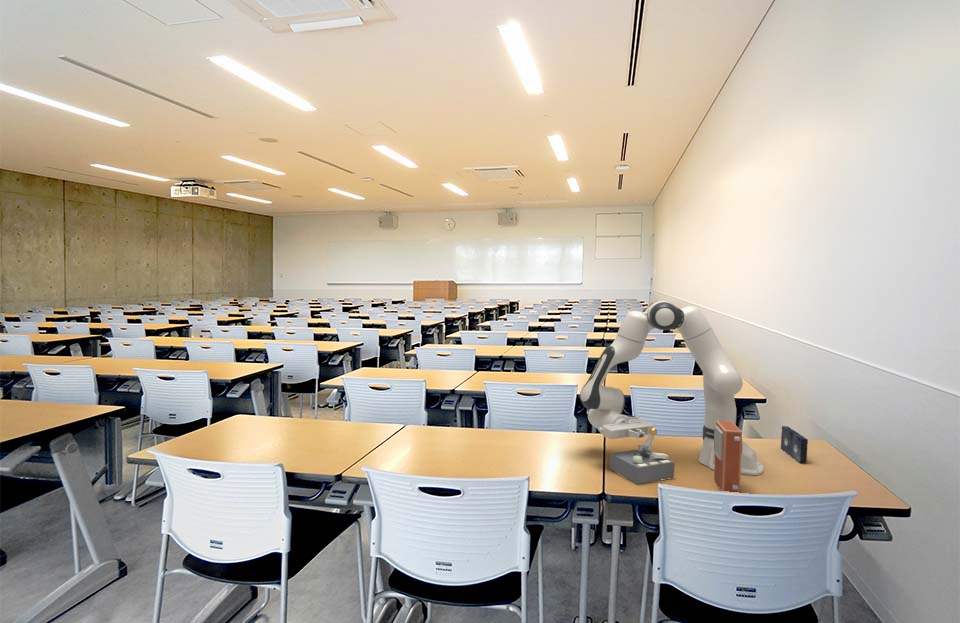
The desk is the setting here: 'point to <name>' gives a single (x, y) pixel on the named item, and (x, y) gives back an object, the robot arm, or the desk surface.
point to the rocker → (660, 455)
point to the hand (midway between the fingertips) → (641, 435)
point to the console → (641, 466)
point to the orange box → (727, 455)
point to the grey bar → (642, 447)
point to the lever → (648, 441)
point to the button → (637, 459)
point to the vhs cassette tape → (794, 444)
